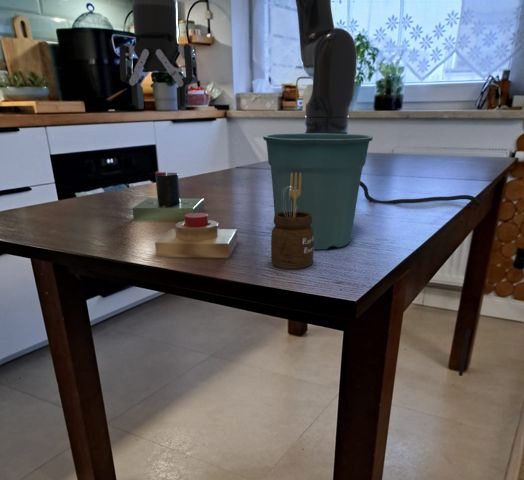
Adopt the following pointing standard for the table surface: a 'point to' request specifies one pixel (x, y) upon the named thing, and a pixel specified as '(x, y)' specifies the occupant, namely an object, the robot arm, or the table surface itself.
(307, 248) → the utensil holder
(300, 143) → the flower pot
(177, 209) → the panel
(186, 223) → the button
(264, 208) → the table surface
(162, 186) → the black cylinder
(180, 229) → the button block
